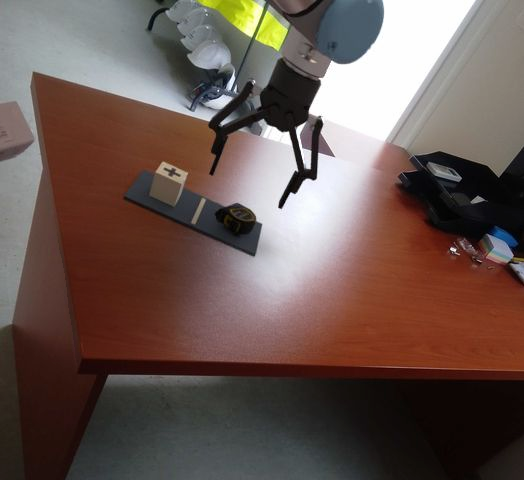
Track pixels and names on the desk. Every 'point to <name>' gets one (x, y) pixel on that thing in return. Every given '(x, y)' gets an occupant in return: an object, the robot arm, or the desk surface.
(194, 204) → the mat
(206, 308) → the desk surface
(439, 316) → the desk surface
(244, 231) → the tape measure
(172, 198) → the plus sign block
